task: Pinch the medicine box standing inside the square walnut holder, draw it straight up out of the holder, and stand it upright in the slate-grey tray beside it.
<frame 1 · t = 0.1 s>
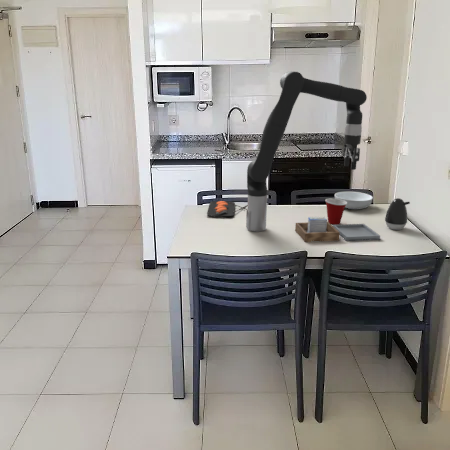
hand: (349, 167, 222), 29 cm above the table, tool pointing down, fingers open, 8 cm apart
medicine box: (316, 236, 217), resting in walnut holder
sushi plate: (235, 212, 256), on the table
serving bowl: (352, 207, 264), on the table
pump dispenser: (395, 228, 228), on the table
plastic cup: (334, 223, 235), on the table
grey tray: (355, 234, 219), on the table
walnut holder: (316, 235, 217), on the table
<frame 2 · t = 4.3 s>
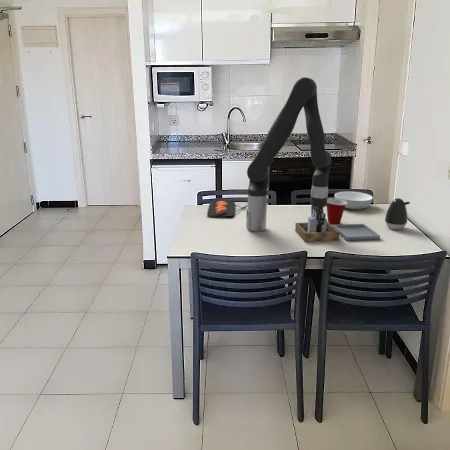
hand: (316, 230, 216), 2 cm above the table, tool pointing down, fingers closed on medicine box, 4 cm apart
medicine box: (316, 235, 217), resting in walnut holder, touching gripper
everything else where it was.
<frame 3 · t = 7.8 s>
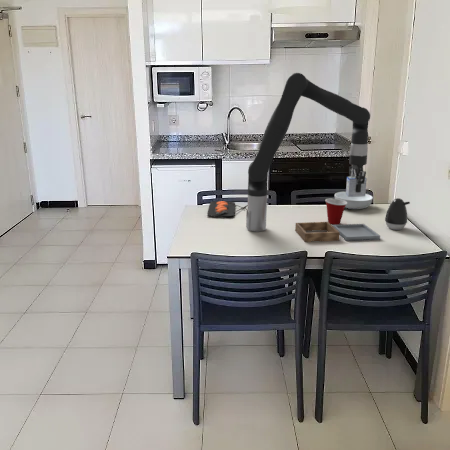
hand: (355, 190, 212), 21 cm above the table, tool pointing down, fingers closed on medicine box, 4 cm apart
medicine box: (355, 196, 213), point 19 cm above the table, touching gripper
everything else where it was.
when the fingers open (5 cm above the table, at t = 11.8 s): medicine box drops 1 cm, resting on grey tray.
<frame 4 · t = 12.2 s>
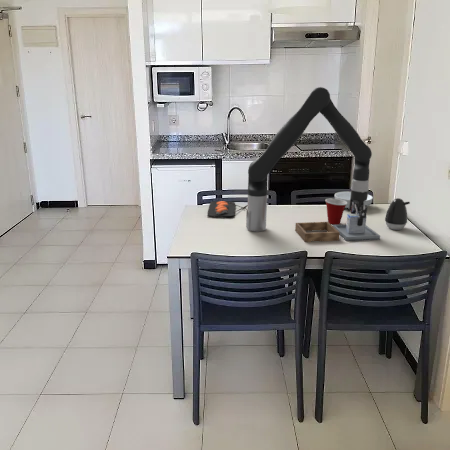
hand: (356, 223, 217), 5 cm above the table, tool pointing down, fingers open, 7 cm apart
medicine box: (355, 232, 219), point 1 cm above the table, touching grey tray
everything else where it was.
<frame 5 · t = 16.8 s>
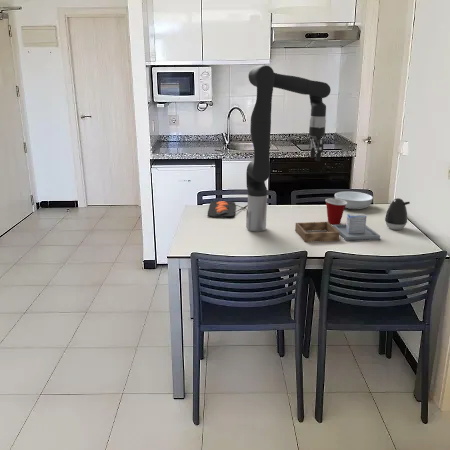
hand: (315, 159, 227), 32 cm above the table, tool pointing down, fingers open, 8 cm apart
nothing on the table moved.
at the end: medicine box inside the target area on the grey tray (0.1 cm from its centre), point 0.6 cm above the grey tray's base; medicine box tilted 0°; the gripper is holding nothing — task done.
